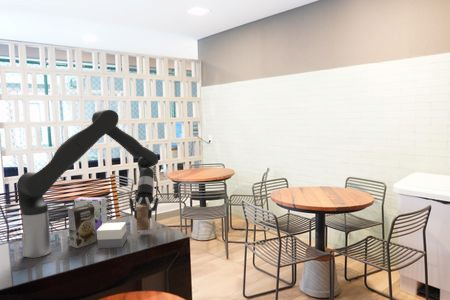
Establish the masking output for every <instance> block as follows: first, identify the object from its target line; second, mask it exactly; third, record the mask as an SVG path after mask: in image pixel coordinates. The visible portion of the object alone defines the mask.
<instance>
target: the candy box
mask: <svg viewBox="0 0 450 300" xmlns="http://www.w3.org/2000/svg"><path fill="white" fill-rule="evenodd" d="M85 205H88V206H93V207H94V213H95V232H96V235H97V230H98V228H99V227H100V226H101V225H102V224H103V223H108V213H107V198H106V197H87V196H85V197H83V196H79V197H77V198H75V199H73V208H76V207H80V206H85Z"/></svg>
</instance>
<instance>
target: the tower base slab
mask: <svg viewBox="0 0 450 300" xmlns="http://www.w3.org/2000/svg"><path fill="white" fill-rule="evenodd" d="M127 236H128V235H127V231H126V232H125V234H124V235H123V237H122V238H121V239H103V240H97V249H107V248H109V249H110V248H111V249H112V248H123V246H124V245H125V242H126V241H127V239H128V237H127Z"/></svg>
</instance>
